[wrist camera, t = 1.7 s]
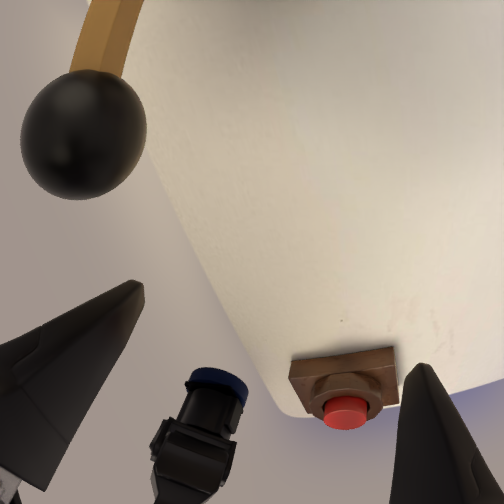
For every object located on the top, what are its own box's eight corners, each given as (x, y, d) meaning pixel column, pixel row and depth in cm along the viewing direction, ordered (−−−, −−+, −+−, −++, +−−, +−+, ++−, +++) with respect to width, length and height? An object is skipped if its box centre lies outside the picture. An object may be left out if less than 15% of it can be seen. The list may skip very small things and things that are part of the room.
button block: (309, 397, 33) (305, 427, 30) (291, 360, 30) (284, 393, 27) (398, 387, 29) (399, 418, 26) (393, 345, 26) (396, 381, 23)
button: (330, 416, 29) (328, 431, 27) (320, 396, 27) (318, 412, 26) (369, 412, 27) (368, 427, 26) (364, 391, 25) (363, 408, 24)
